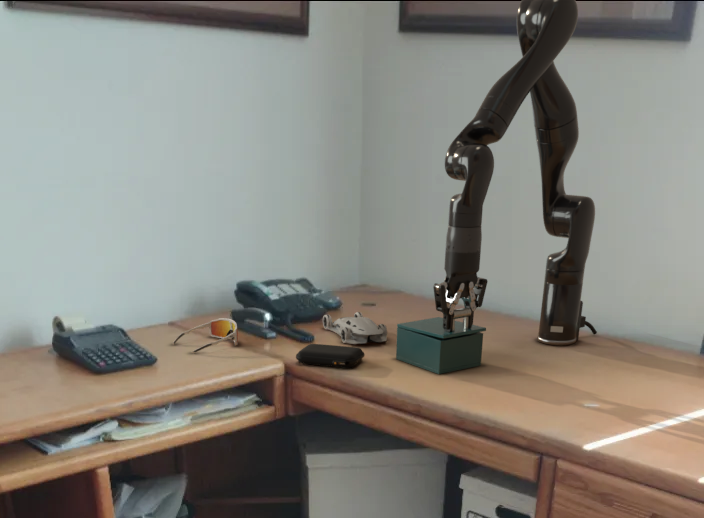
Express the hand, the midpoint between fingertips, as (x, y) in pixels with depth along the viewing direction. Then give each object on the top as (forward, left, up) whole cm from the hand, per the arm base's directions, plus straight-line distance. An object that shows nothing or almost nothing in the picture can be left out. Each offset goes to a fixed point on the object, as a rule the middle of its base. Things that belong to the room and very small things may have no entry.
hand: (457, 329), depth 209 cm
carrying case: (+21, -20, -9) cm, 30 cm away
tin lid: (0, -6, -1) cm, 6 cm away
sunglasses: (+36, -51, -9) cm, 63 cm away
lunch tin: (0, -6, -9) cm, 11 cm away
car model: (+1, -37, -9) cm, 38 cm away
